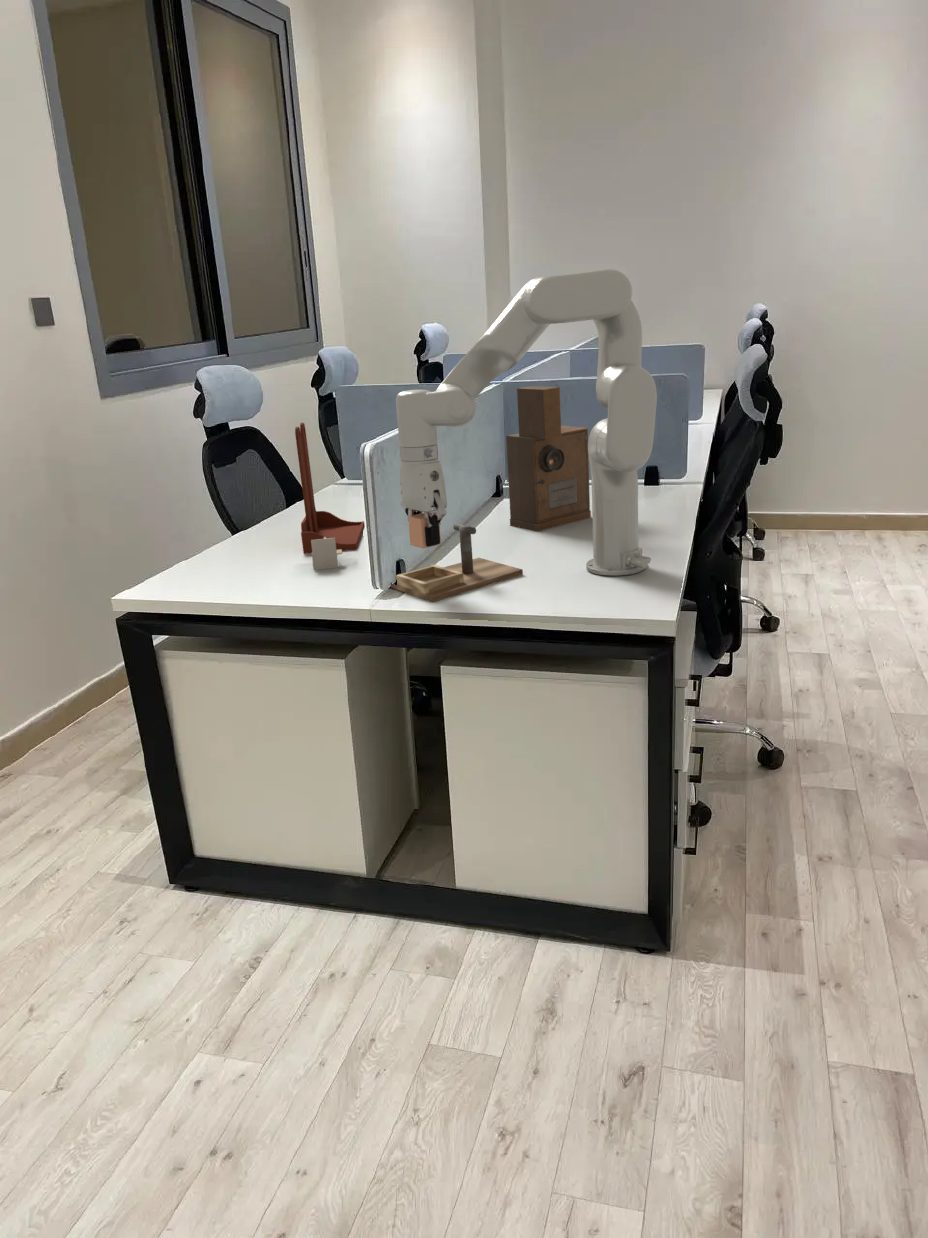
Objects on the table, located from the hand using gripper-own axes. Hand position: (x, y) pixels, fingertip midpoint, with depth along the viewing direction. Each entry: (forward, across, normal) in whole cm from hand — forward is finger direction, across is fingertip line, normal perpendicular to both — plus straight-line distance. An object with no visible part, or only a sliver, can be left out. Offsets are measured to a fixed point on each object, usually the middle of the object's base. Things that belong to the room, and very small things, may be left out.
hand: (425, 542), depth 191 cm
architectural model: (+11, +33, +6) cm, 35 cm away
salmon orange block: (+1, 0, 0) cm, 1 cm away
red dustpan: (+11, +55, -10) cm, 57 cm away
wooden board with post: (+10, 0, -7) cm, 12 cm away
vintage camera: (+10, +22, -55) cm, 60 cm away
